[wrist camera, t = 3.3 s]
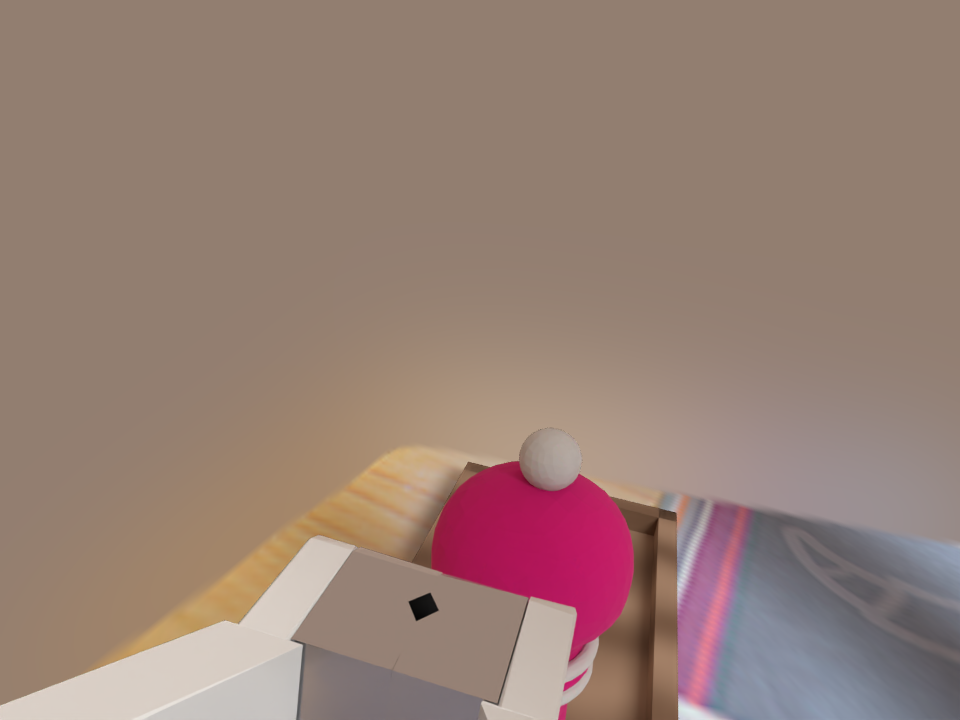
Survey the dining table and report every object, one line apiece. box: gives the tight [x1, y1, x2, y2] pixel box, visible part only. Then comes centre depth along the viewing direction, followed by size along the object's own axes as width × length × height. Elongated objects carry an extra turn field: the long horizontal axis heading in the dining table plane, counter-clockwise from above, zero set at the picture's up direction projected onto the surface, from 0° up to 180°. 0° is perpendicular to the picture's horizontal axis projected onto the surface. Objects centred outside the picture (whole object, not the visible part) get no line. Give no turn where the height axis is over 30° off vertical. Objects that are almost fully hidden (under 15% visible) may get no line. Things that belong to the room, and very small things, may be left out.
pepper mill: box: [431, 428, 634, 720], centre depth 24 cm, size 7×7×20 cm
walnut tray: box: [412, 462, 678, 720], centre depth 43 cm, size 23×15×2 cm, turn 166°
